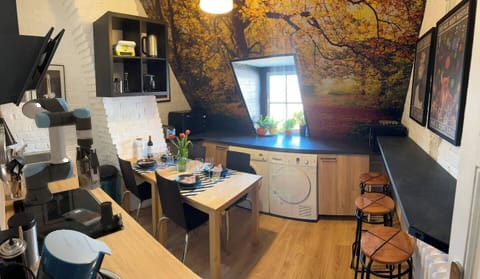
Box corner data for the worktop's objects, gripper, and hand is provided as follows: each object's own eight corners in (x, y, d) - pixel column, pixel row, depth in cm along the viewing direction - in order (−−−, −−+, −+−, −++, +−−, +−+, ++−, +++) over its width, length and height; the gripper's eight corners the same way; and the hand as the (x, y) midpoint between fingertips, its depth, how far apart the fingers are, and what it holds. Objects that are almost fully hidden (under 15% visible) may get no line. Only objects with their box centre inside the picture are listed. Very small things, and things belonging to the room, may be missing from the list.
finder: (69, 217, 163) (68, 211, 163) (78, 213, 167) (77, 208, 167) (75, 219, 160) (75, 213, 160) (84, 216, 164) (84, 210, 164)
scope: (121, 201, 151) (101, 207, 144) (123, 227, 153) (104, 234, 146) (114, 197, 156) (94, 203, 149) (116, 222, 159) (97, 229, 151)
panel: (60, 217, 166) (60, 215, 166) (81, 209, 176) (81, 207, 176) (86, 226, 154) (85, 224, 154) (106, 217, 165) (106, 215, 165)
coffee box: (101, 186, 163) (98, 157, 160) (92, 190, 157) (89, 160, 154) (87, 185, 165) (84, 156, 163) (78, 189, 159) (75, 159, 156)
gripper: (65, 137, 159) (69, 177, 163) (91, 140, 148) (95, 183, 151) (78, 135, 165) (83, 173, 169) (104, 138, 154) (108, 179, 158)
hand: (89, 178), depth 160 cm, fingers closed on coffee box, 10 cm apart
